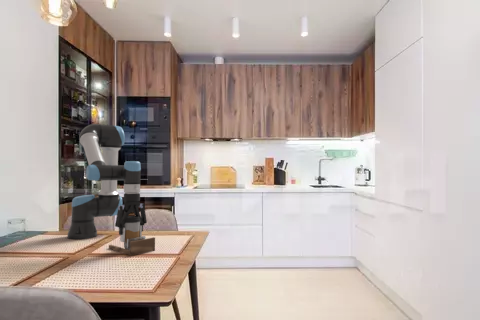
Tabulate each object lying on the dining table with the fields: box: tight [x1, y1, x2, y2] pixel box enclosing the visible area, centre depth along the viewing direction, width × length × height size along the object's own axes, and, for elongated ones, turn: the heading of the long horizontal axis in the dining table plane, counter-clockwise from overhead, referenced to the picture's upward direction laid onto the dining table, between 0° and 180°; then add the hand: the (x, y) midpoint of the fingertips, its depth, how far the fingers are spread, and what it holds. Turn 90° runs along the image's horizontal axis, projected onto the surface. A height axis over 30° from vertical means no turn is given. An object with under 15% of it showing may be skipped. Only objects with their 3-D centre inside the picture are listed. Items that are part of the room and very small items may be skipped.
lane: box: [108, 237, 156, 256], centre depth 155 cm, size 20×12×6 cm, turn 51°
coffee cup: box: [123, 215, 140, 249], centre depth 155 cm, size 8×8×15 cm
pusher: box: [127, 235, 146, 250], centre depth 151 cm, size 4×9×6 cm, turn 141°
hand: (131, 239), depth 155 cm, fingers closed on coffee cup, 8 cm apart
